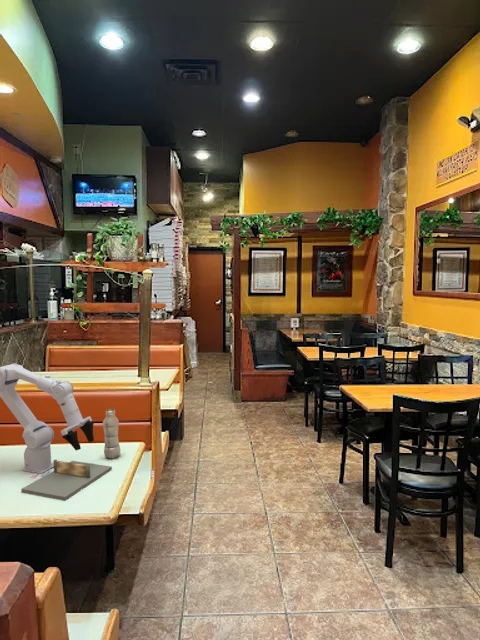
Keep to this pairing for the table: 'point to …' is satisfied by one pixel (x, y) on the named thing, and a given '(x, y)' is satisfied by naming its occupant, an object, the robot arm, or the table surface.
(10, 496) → the table surface
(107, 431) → the plastic bottle
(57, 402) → the robot arm
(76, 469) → the board
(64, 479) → the gate board
